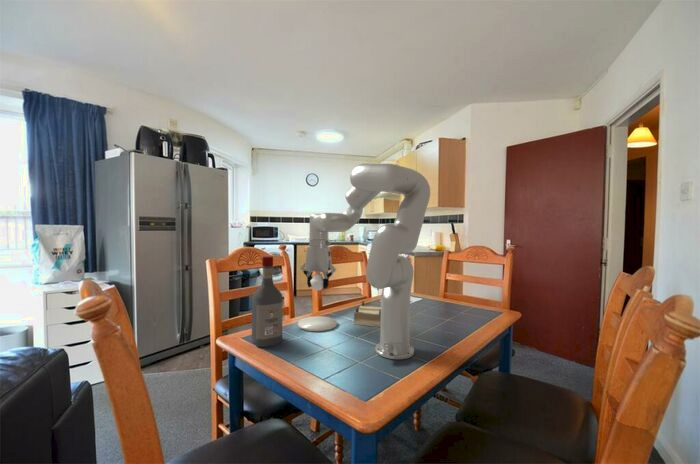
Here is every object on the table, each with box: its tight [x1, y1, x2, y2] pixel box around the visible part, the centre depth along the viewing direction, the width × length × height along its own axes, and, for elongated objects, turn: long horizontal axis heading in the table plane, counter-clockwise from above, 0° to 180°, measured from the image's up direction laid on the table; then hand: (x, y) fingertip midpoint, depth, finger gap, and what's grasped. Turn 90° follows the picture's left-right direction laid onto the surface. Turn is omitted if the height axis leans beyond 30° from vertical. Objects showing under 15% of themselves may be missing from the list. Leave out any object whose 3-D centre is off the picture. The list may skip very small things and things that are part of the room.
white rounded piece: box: [310, 272, 324, 292], centre depth 123 cm, size 6×6×7 cm
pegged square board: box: [353, 300, 381, 328], centre depth 129 cm, size 12×12×7 cm
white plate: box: [297, 315, 338, 332], centre depth 123 cm, size 16×16×1 cm
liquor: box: [251, 255, 284, 348], centre depth 105 cm, size 9×9×30 cm
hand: (317, 286), depth 123 cm, fingers closed on white rounded piece, 6 cm apart
